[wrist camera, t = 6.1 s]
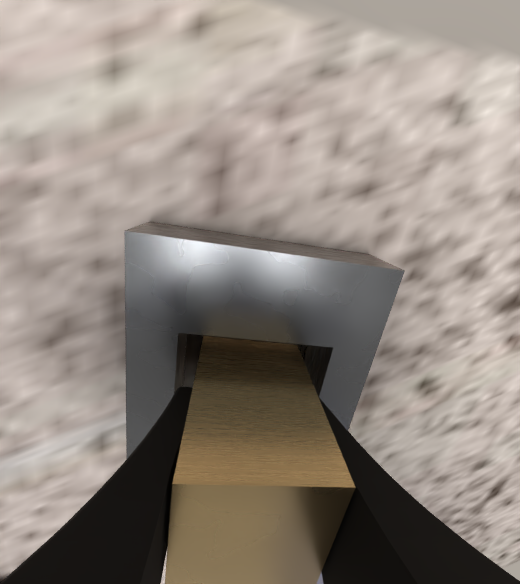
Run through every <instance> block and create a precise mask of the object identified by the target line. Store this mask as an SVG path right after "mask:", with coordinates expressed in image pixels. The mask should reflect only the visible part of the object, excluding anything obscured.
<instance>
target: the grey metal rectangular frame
mask: <svg viewBox="0 0 520 584" xmlns="http://www.w3.org/2000/svg"><path fill="white" fill-rule="evenodd" d="M403 274H404V270H402V269H400V268H398V267H395V266H393V265H391V264H389V263H387V262H385V261H382V260H380V259H378V258H376V257H374V256H372V255H369V254H362V253H356V252H349V251H342V250H336V249H329V248H322V247H315V246H309V245H302V244H295V243H289V242H282V241H275V240H268V239H262V238H255V237H248V236H242V235H235V234H228V233H222V232H215V231H208V230H201V229H195V228H188V227H181V226H175V225H168V224H161V223H154V222H148V223H145V224H142V225H139V226H137V227H134V228H131V229H128V230H125V323H126V438H127V458H128V457H129V456H130V455H131V454H132V452H133V451H134V450H135V449H136V447H137V446H138V445H139V444H140V443H141V441H142V440H143V439H144V438H145V436H146V435H147V434H148V432H149V431H150V430H151V428H152V427H153V426H154V424H155V423H156V421H157V420H158V419H159V417H160V416H161V414H162V413H163V411H164V410H165V408H166V407H167V405H168V404H169V402H170V401H171V399H172V397H173V395H174V394H175V392H176V390H177V389H178V388H179V387H183V381H184V368H185V355H186V343H187V334H196V335H207V336H217V337H228V338H238V339H249V340H259V341H270V342H281V343H291V344H302V345H308V346H307V350H306V354H305V358H304V363H305V366H306V368H307V370H308V373H309V375H310V378H311V380H312V383H313V385H314V388H315V390H316V392H317V395H318V397H319V398H320V399H321V400H322V401H323V402H324V404H325V405H326V406H327V407H328V408H329V409H330V411H331V412H332V413H333V414H334V415H335V417H336V418H337V419H338V420H339V421H340V422H341V424H342V425H343V426H344V427H345V428H346V429H347V431H348V429H349V426H350V423H351V420H352V418H353V415H354V412H355V409H356V406H357V404H358V401H359V398H360V395H361V392H362V389H363V387H364V384H365V381H366V378H367V375H368V373H369V370H370V367H371V364H372V361H373V358H374V356H375V353H376V350H377V347H378V344H379V341H380V339H381V336H382V333H383V330H384V327H385V325H386V322H387V319H388V316H389V313H390V310H391V308H392V305H393V302H394V299H395V296H396V294H397V291H398V288H399V285H400V282H401V279H402V277H403Z"/></svg>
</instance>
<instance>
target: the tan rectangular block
mask: <svg viewBox="0 0 520 584" xmlns="http://www.w3.org/2000/svg"><path fill="white" fill-rule="evenodd" d="M355 488H356V487H355V485H354V483H353V480H352V478H351V475H350V473H349V470H348V468H347V465H346V463H345V461H344V458H343V456H342V453H341V451H340V448H339V446H338V444H337V441H336V439H335V436H334V434H333V431H332V429H331V427H330V424H329V422H328V419H327V417H326V414H325V412H324V409H323V407H322V405H321V402H320V400H319V397H318V395H317V392H316V390H315V388H314V385H313V383H312V380H311V378H310V375H309V373H308V370H307V368H306V366H305V363H304V361H303V358H302V356H301V353H300V351H299V349H298V346H297V345H292V344H282V343H271V342H261V341H250V340H240V339H229V338H219V337H208V336H204V337H203V342H202V346H201V351H200V356H199V361H198V365H197V370H196V375H195V379H194V384H193V389H192V394H191V398H190V403H189V408H188V413H187V417H186V422H185V427H184V432H183V436H182V441H181V446H180V451H179V455H178V460H177V465H176V469H175V474H174V479H173V484H172V496H171V510H170V523H169V537H168V550H167V563H166V577H165V584H317V581H318V579H319V576H320V574H321V571H322V569H323V566H324V564H325V561H326V559H327V556H328V554H329V552H330V549H331V547H332V544H333V542H334V539H335V537H336V534H337V532H338V529H339V527H340V524H341V522H342V520H343V517H344V515H345V512H346V510H347V507H348V505H349V502H350V500H351V497H352V495H353V493H354V490H355Z"/></svg>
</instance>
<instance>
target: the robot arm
mask: <svg viewBox="0 0 520 584" xmlns="http://www.w3.org/2000/svg"><path fill="white" fill-rule="evenodd" d="M192 389H193V388H191V387H179V388H178V389H177V390H176V392H175V394H174V395H173V397H172V399H171V401H170V402H169V404H168V405H167V407H166V408H165V410H164V411H163V413H162V414H161V416H160V417H159V419H158V420H157V421H156V423H155V424H154V426H153V427H152V428H151V430H150V431H149V432H148V434H147V435H146V436H145V438H144V439H143V440H142V441H141V443H140V444H139V445H138V446H137V447H136V449H135V450H134V451H133V452H132V454H131V455H130V456H129V457H128V458H127V460H126V461H125V462H124V463H123V464H122V465H121V467H120V468H119V469H118V470H117V471H116V472H115V473H114V475H113V476H112V477H111V478H110V479H109V480H108V481H107V482H106V483H105V484H104V485H103V486H102V488H101V489H100V490H99V491H98V492H97V493H96V494H95V495H94V496H93V497H92V498H91V499H90V500H89V501H88V502H87V503H86V504H85V505H84V506H83V507H82V508H81V509H80V510H79V511H78V512H77V513H76V514H75V515H74V516H73V517H72V518H71V519H70V520H69V521H68V522H67V523H66V524H65V525H64V526H63V527H62V528H61V529H60V530H59V531H57V532H56V533H55V534H54V535H53V536H52V537H51V538H50V539H49V540H48V541H47V542H46V543H44V544H43V545H42V546H41V547H40V548H39V549H38V550H37V551H35V552H34V553H33V554H32V555H31V556H30V557H29V558H28V559H27V560H25V561H24V562H23V563H22V564H21V565H20V566H19V567H18V568H17V569H15V570H14V571H13V572H12V573H11V574H10V575H9V576H8V577H7V578H5V579H4V580H3V581H2V582H1V583H0V584H160V583H161V578H162V572H163V566H164V561H165V556H166V551H167V547H168V537H169V523H170V510H171V496H172V484H173V479H174V474H175V469H176V465H177V460H178V455H179V451H180V446H181V441H182V436H183V432H184V427H185V422H186V417H187V413H188V408H189V403H190V398H191V394H192ZM319 400H320V402H321V405H322V407H323V409H324V412H325V414H326V417H327V419H328V422H329V424H330V427H331V429H332V431H333V434H334V436H335V439H336V441H337V444H338V446H339V448H340V451H341V453H342V456H343V458H344V461H345V463H346V465H347V468H348V470H349V473H350V475H351V478H352V480H353V483H354V485H355V487H356V488H355V490H354V493H353V495H352V497H351V500H350V502H349V505H348V507H347V510H346V512H345V515H344V517H343V520H342V522H341V524H340V527H339V529H338V532H337V534H336V537H335V539H334V542H333V544H332V547H331V549H330V552H329V554H328V556H327V559H326V561H325V564H324V566H323V569H322V571H321V574H320V576H319V579H318V581H317V584H520V581H519V580H517V579H516V578H514V577H513V576H512V575H510V574H509V573H507V572H506V571H505V570H503V569H502V568H501V567H499V566H498V565H497V564H495V563H494V562H493V561H491V560H490V559H489V558H487V557H486V556H484V555H483V554H482V553H480V552H479V551H478V550H476V549H475V548H474V547H473V546H471V545H470V544H469V543H467V542H466V541H465V540H464V539H462V538H461V537H460V536H458V535H457V534H456V533H455V532H453V531H452V530H451V529H450V528H449V527H447V526H446V525H445V524H444V523H443V522H441V521H440V520H439V519H438V518H436V517H435V516H434V515H433V514H432V513H430V512H429V511H428V510H427V509H426V508H425V507H423V506H422V505H421V504H420V503H419V502H418V501H417V500H415V499H414V498H413V497H412V496H411V495H410V494H409V493H408V492H407V491H406V490H405V489H403V488H402V487H401V486H400V485H399V484H398V483H397V482H396V481H395V480H394V479H393V478H392V477H391V476H390V475H389V474H388V473H387V472H386V471H385V470H384V469H383V468H382V467H381V466H380V465H379V464H378V463H377V462H376V461H375V460H374V459H373V458H372V457H371V456H370V455H369V454H368V453H367V452H366V451H365V450H364V448H363V447H362V446H361V445H360V444H359V443H358V442H357V441H356V440H355V439H354V437H353V436H352V435H351V434H350V433H349V432H348V431H347V429H346V428H345V427H344V426H343V425H342V424H341V422H340V421H339V420H338V419H337V418H336V417H335V415H334V414H333V413H332V412H331V411H330V409H329V408H328V407H327V406H326V405H325V404H324V402H323V401H322V400H321V399H320V398H319Z"/></svg>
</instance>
